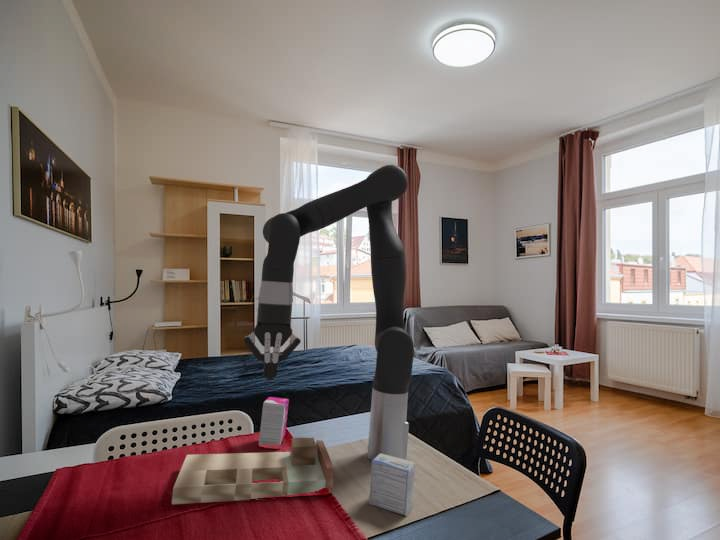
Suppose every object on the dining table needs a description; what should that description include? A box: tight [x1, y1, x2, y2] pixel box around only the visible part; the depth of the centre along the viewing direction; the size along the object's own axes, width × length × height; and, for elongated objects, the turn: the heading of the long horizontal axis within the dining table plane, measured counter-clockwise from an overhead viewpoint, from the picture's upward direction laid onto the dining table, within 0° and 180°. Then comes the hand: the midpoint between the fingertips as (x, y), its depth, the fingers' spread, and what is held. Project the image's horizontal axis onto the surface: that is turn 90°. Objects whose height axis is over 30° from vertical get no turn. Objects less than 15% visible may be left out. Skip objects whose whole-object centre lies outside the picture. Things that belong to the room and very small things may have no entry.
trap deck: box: [171, 439, 335, 505], centre depth 81 cm, size 30×14×6 cm, turn 105°
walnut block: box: [290, 437, 317, 466], centre depth 86 cm, size 5×5×4 cm
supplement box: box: [258, 396, 290, 445], centre depth 100 cm, size 6×6×12 cm
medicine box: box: [368, 453, 416, 517], centre depth 76 cm, size 8×4×9 cm, turn 65°
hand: (269, 379), depth 86 cm, fingers closed
